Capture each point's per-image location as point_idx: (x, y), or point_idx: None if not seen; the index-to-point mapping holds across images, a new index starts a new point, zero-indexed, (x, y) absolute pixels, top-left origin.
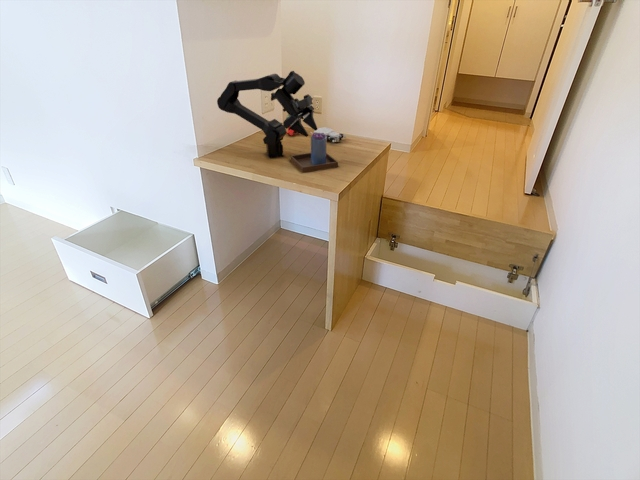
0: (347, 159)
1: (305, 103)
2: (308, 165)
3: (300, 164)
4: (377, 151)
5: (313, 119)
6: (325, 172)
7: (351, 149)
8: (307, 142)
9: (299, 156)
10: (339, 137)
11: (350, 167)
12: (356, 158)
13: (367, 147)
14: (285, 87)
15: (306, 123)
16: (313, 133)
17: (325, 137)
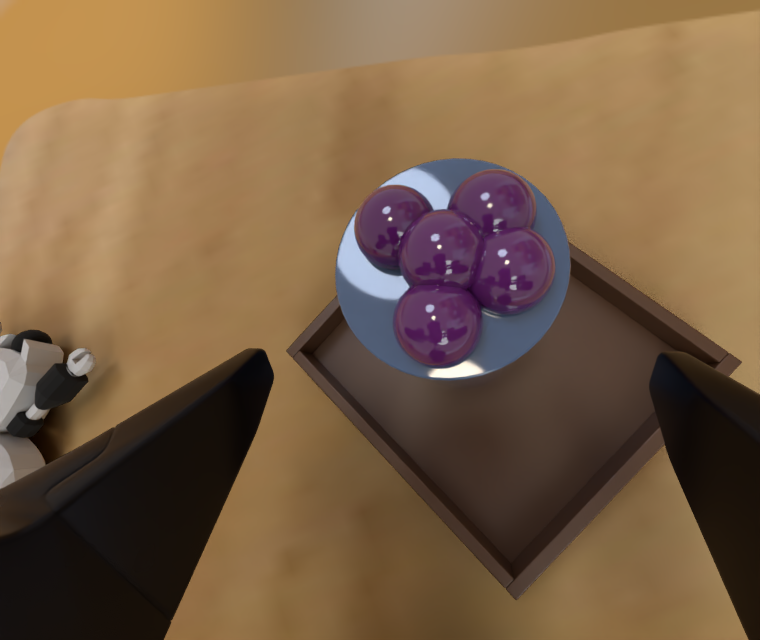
0: (310, 188)
1: None
2: (557, 375)
3: None
4: (140, 103)
5: (74, 461)
6: (600, 214)
7: (147, 236)
8: None
9: (455, 510)
10: (27, 339)
11: (429, 117)
12: (275, 151)
13: (97, 171)
14: None
15: (170, 609)
16: (450, 337)
17: (412, 183)
